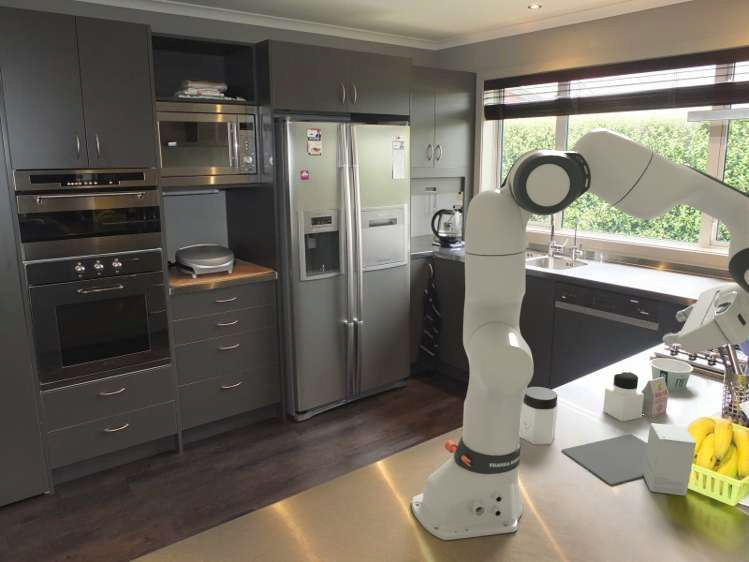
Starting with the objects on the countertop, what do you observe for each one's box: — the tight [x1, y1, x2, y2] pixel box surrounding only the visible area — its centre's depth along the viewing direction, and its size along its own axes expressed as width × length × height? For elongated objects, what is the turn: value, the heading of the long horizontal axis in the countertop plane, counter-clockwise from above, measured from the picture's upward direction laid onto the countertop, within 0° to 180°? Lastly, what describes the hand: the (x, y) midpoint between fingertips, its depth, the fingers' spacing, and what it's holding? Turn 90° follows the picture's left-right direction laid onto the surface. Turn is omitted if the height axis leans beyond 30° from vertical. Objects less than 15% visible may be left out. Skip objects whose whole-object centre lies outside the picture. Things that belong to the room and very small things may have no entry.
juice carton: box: [640, 377, 669, 418], centre depth 162 cm, size 4×7×10 cm, turn 119°
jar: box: [519, 386, 558, 445], centre depth 147 cm, size 9×8×12 cm
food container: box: [649, 357, 694, 391], centre depth 182 cm, size 12×12×6 cm
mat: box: [561, 433, 648, 487], centre depth 138 cm, size 22×16×1 cm
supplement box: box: [642, 422, 697, 497], centre depth 126 cm, size 7×7×13 cm
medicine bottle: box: [602, 370, 644, 423], centre depth 160 cm, size 7×7×12 cm
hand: (671, 328), depth 119 cm, fingers open, 8 cm apart
